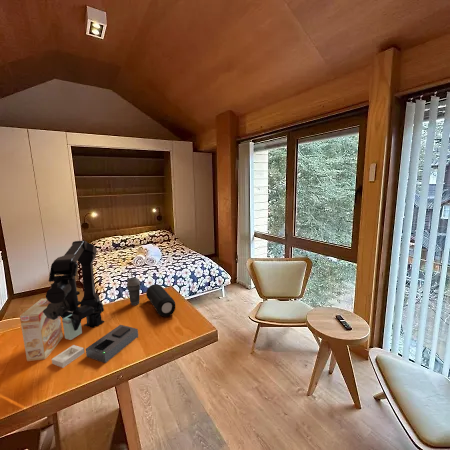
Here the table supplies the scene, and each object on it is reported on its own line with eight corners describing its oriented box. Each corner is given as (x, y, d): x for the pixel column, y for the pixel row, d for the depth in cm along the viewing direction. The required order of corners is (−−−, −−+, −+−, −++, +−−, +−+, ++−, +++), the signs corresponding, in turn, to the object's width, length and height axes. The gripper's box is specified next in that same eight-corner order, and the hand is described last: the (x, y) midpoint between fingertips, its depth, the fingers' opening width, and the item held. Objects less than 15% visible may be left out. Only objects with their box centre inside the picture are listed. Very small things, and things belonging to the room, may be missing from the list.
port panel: (86, 357, 99) (85, 347, 98) (121, 332, 115) (120, 323, 114) (105, 364, 95) (104, 353, 94) (138, 337, 112) (137, 327, 111)
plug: (64, 338, 96) (62, 318, 94) (76, 331, 100) (74, 312, 99) (70, 340, 94) (67, 320, 93) (82, 333, 99) (79, 314, 97)
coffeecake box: (46, 360, 98) (38, 314, 95) (26, 362, 97) (18, 316, 94) (64, 337, 113) (58, 296, 109) (46, 339, 112) (40, 298, 108)
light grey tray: (52, 364, 95) (51, 359, 95) (74, 350, 104) (73, 344, 103) (63, 368, 93) (62, 362, 93) (84, 353, 101) (83, 348, 101)
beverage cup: (134, 307, 138) (131, 273, 135) (125, 304, 142) (122, 271, 139) (144, 302, 144) (141, 269, 141) (136, 299, 148) (133, 267, 145)
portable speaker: (146, 301, 146) (144, 285, 145) (162, 296, 151) (161, 281, 150) (158, 320, 125) (157, 302, 123) (177, 315, 130) (176, 297, 128)
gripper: (29, 296, 91) (35, 335, 93) (63, 305, 83) (69, 347, 86) (59, 284, 101) (64, 320, 103) (92, 291, 93) (97, 329, 96)
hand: (73, 329), depth 97 cm, fingers closed on plug, 3 cm apart
